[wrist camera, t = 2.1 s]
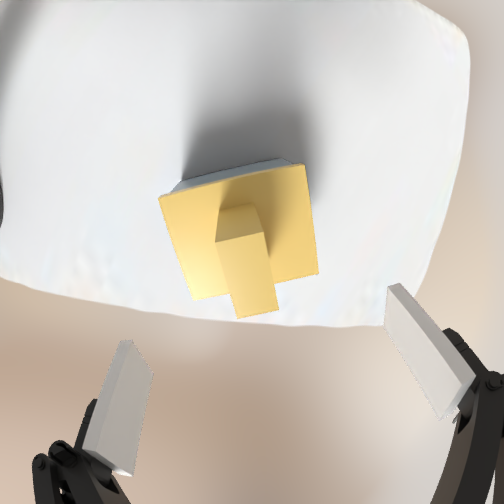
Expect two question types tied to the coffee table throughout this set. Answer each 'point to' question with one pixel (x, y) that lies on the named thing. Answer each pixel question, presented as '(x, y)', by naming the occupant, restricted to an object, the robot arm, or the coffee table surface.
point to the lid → (243, 236)
